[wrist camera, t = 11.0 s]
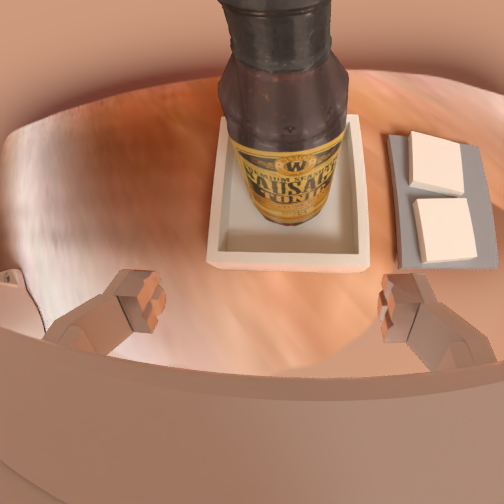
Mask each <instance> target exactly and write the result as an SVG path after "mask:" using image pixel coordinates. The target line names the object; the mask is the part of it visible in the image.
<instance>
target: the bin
mask: <svg viewBox="0 0 504 504" xmlns="http://www.w3.org/2000/svg"><path fill="white" fill-rule="evenodd" d="M206 262H207V263H209V264H210V265H212V266H214V267H216V268H217V269H223V270H254V271H290V272H337V273H362V272H363V271H364V270H365V269H367V268H368V267H369V266H370V243H369V219H368V202H367V188H366V177H365V166H364V156H363V148H362V139H361V132H360V124H359V117H358V115H353V114H347V118H346V128H345V132H344V136H343V140H342V144H341V148H340V152H339V156H338V160H337V164H336V168H335V172H334V176H333V180H332V184H331V188H330V192H329V196H328V199H327V201H326V203H325V205H324V206H323V208H322V209H321V211H320V213H319V214H318V215H316V216H315V217H313V218H312V219H310V220H309V221H306V222H305V223H303V224H300V225H297V226H283V225H279V224H276V223H273V222H271V221H268V220H267V219H265V218H264V216H263V215H262V214H261V213H260V212H259V211H258V209H257V208H256V207H255V206H254V204H253V203H252V200H251V198H250V195H249V192H248V189H247V187H246V184H245V181H244V178H243V175H242V172H241V169H240V166H239V163H238V160H237V157H236V154H235V152H234V149H233V146H232V143H231V140H230V137H229V134H228V130H227V121H226V118H225V116H223V117H221V123H220V131H219V139H218V147H217V156H216V165H215V174H214V183H213V192H212V202H211V212H210V223H209V234H208V246H207V258H206Z"/></svg>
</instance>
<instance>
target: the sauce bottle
mask: <svg viewBox="0 0 504 504" xmlns="http://www.w3.org/2000/svg"><path fill="white" fill-rule="evenodd" d="M218 1H219V3H220V4H221V5H222V8H223V9H224V13H225V17H226V20H227V23H228V26H229V27H228V28H229V33H230V36H231V39H230V42H231V45H230V47H231V50H232V55H231V57H230V59H229V61H228V64H227V66H226V68H225V71H224V73H223V76H222V78H221V79H220V81H219V83H218V95H219V99H220V102H221V105H222V108H223V111H224V115H225V118H226V121H227V130H228V134H229V137H230V140H231V143H232V146H233V149H234V152H235V154H236V157H237V160H238V163H239V166H240V169H241V172H242V175H243V178H244V181H245V184H246V187H247V189H248V192H249V195H250V198H251V200H252V203H253V204H254V206H255V207H256V208H257V209H258V211H259V212H260V213H261V214H262V215H263V216H264V218H265V219H267V220H268V221H271V222H273V223H276V224H279V225H283V226H297V225H300V224H303V223H305V222H306V221H309V220H310V219H312V218H313V217H315V216H316V215H318V214H319V213H320V211H321V209H322V208H323V206H324V205H325V203H326V201H327V199H328V196H329V192H330V188H331V184H332V180H333V176H334V172H335V168H336V164H337V160H338V156H339V152H340V148H341V144H342V140H343V136H344V132H345V128H346V118H347V101H348V84H349V77H348V72H347V71H346V70H345V68H344V67H343V66H342V65H341V63H340V62H339V60H338V59H337V57H336V56H335V55H334V53H333V52H332V51H331V45H332V39H331V36H330V17H331V0H218Z"/></svg>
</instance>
